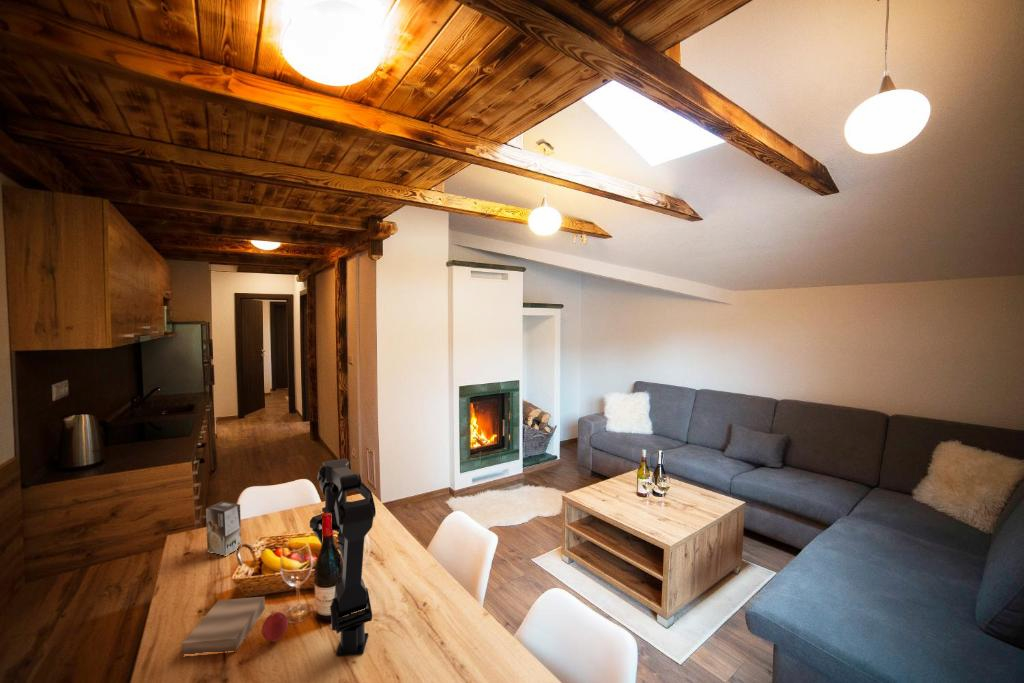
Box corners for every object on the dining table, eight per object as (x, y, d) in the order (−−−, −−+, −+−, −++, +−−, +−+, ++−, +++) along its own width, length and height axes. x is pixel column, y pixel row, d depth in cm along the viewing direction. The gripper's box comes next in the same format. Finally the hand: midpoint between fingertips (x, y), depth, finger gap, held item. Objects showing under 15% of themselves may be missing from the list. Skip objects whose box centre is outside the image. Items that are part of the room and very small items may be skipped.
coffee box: (242, 547, 152) (241, 504, 151) (225, 557, 146) (224, 511, 145) (223, 543, 154) (222, 500, 154) (206, 552, 148) (204, 508, 147)
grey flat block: (236, 654, 104) (235, 638, 104) (182, 659, 102) (182, 643, 102) (264, 610, 120) (264, 596, 120) (218, 614, 118) (218, 600, 118)
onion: (282, 629, 112) (282, 599, 112) (292, 639, 108) (291, 609, 108) (258, 641, 107) (257, 611, 107) (267, 653, 104) (266, 621, 103)
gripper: (379, 501, 123) (380, 554, 123) (342, 487, 134) (343, 536, 134) (345, 515, 114) (346, 572, 114) (308, 499, 125) (309, 551, 125)
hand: (336, 556), depth 122 cm, fingers open, 9 cm apart
